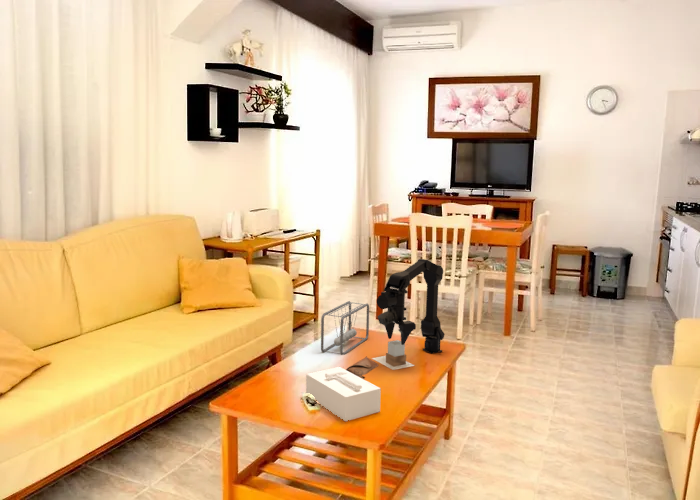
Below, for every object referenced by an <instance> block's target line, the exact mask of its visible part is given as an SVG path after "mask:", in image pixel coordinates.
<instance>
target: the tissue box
mask: <svg viewBox="0 0 700 500" xmlns="http://www.w3.org/2000/svg"><path fill="white" fill-rule="evenodd" d="M305 375H306V376H305V377H306V378H305V382H306V383H305V394H306V393H310V394H312V395H313V396H314V397H315V399H316V400H317V401H318V402H319V403H320V404H321V405H322V406H324V407H325V408H326V409H325V408H324V407H323V408H324V409H325V410H327V409H328V410H329V411H328V410H327V411H328V412H330V411H331V412H332V413H331V412H330V413H331V414H333V415H334V416H336V415H337V416H336V417H338V418H339V417H340V418H339V419H341V420H342V419H343V420H342V421H344V422H349V421H352V420H355V419H359V418H362V417H366V416H369V415H372V414H373V415H374V414H377V413H380V412H381V397H382V396H381V395H382V394H381V393H382V391H381V390H382V389H381V387H380V386H377V385H375V384H373V383H371V382H370V381H368V380H366V379H365V378H364V379H362V378H360V377H358V376H356V375H354V374H352V373H350V372H349V371H347V370H346V369H345V368H343V367H340V366H336V367H331V368H327V369H323V370H320V371H319V370H318V371H314V372H310V373H309V372H308V373H306V374H305ZM321 405H320V406H321ZM322 406H321V407H322ZM348 420H349V421H348Z"/></svg>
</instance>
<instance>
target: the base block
mask: <svg viewBox="0 0 700 500" xmlns="http://www.w3.org/2000/svg"><path fill="white" fill-rule="evenodd" d="M385 356H386V363H388V364H390V365H392V366H394V367H395V366H400V365H405V364H406V361H407V354H405V355H401V356H396V357H394V356H392V355H390V354H388V352H385Z"/></svg>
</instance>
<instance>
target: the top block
mask: <svg viewBox="0 0 700 500" xmlns="http://www.w3.org/2000/svg"><path fill="white" fill-rule="evenodd" d="M405 347H406V343H405V344H404V345H402V344H401V340H398V339H396V340H390V341H387V353H388V354H390V355H392V356H394V357H396V356H401V355H406V354H405V352H406V350H405V349H406V348H405Z"/></svg>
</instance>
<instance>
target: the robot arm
mask: <svg viewBox="0 0 700 500" xmlns="http://www.w3.org/2000/svg"><path fill="white" fill-rule="evenodd" d="M422 273H423V279H424V282H425V283H426V299H425V300H426V302H425V304H426V306H425V316H424V318H423V319H421V321H420V328H419V329H420V331H421V335H422V337H424V338H425V339H424V347H423V348H422V351H425V352H427V353H429V354H436V353H442V352H443V350H442V349H441V341H443V340H444V338H445V332H444V331H443V330H442V329H443V328H441V320H440V319H439V317H438V306H439V305H438V302H439V284H441V281H442V280H443V276H444V268H443V267H442V265H439V264H436V263H434V262H432V261H430V260H429V259H425V258H424V259H423V258H420V259H419V258H418V259H417V261H416V262H415V263H413V264H412V265H410V266H408V267H407V268H406V269H404V270H402V271H398V272H395V273H392V274H391V275H390V276H389V278H388V279H387V282H386V284H385V286H384V289H383V291H381V292H380V295H379V296H378V297H377V298H376V304H377V307H378V308H379V309H381V310H386V309H387V311H384V312H382V313H380V314H379V315H377V320H378V323H379V324H380V325H382V326H384V328H385V331H386V334H387V338H388V339H389V340H390V339H392V337H393V334H394V329H395V326H396V325H398V329H397V330H398V331H399V333H400V341H401V344H402V345H404V344H405V345H406V341H407V340H408V338H409V337H410V335H411V333H412V332H413V331H414V330H416V327H417V324H416V323H415V322H413V321H411V320H407V317H405V311H407V307H405V301H406V300H405V298H406V294H408V293H409V291H408V290H407V288H408V287H409V286H410V284H411V281H412V280H413V279H415V278H417V277H418V276H419V275H420V274H422Z"/></svg>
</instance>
